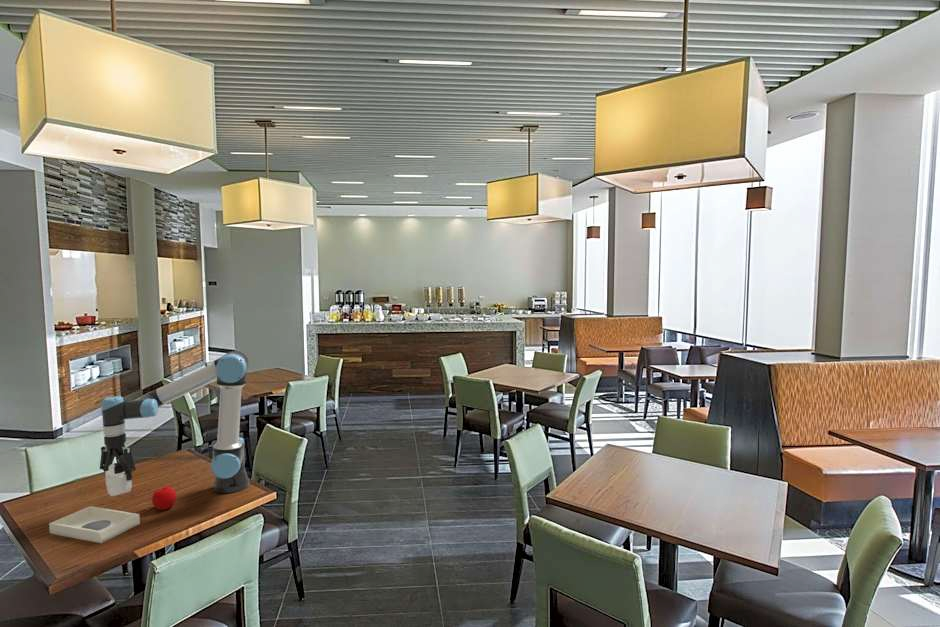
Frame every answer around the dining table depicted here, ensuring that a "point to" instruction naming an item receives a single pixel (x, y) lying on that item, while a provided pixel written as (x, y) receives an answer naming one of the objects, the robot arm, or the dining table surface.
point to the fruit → (164, 498)
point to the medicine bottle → (116, 480)
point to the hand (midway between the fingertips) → (118, 486)
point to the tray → (94, 524)
